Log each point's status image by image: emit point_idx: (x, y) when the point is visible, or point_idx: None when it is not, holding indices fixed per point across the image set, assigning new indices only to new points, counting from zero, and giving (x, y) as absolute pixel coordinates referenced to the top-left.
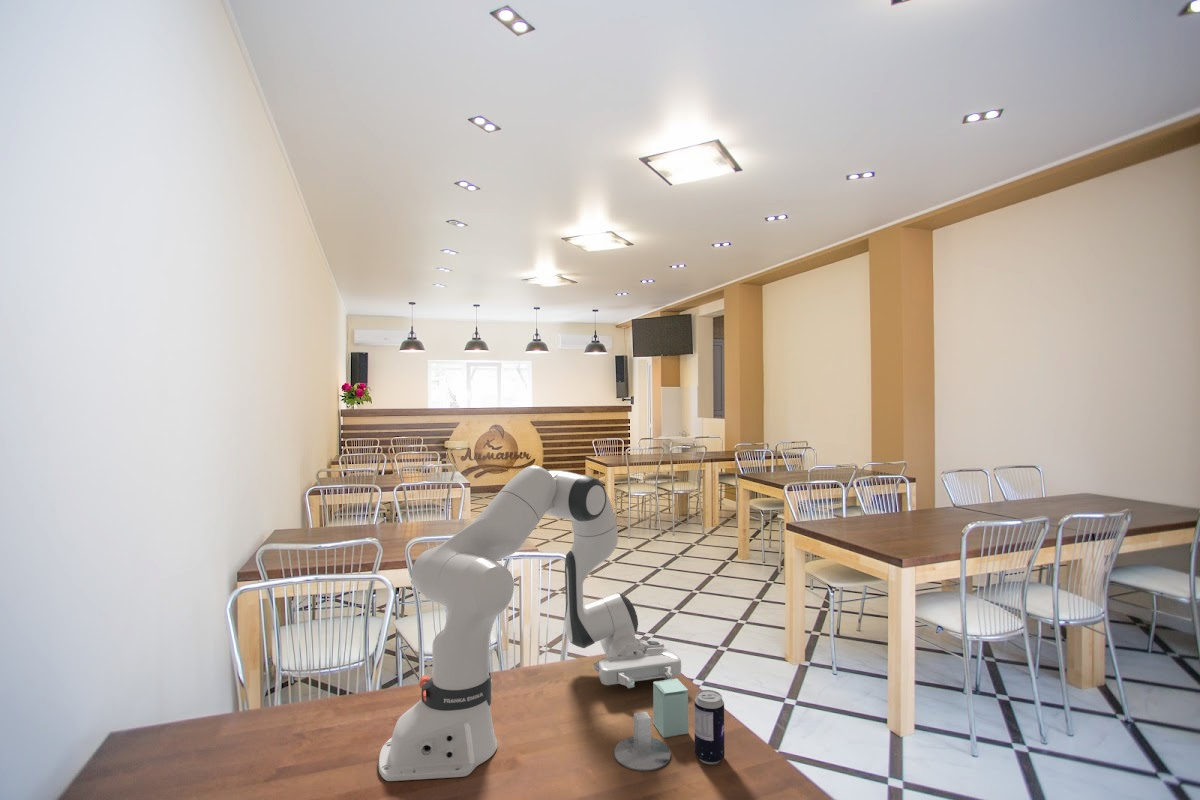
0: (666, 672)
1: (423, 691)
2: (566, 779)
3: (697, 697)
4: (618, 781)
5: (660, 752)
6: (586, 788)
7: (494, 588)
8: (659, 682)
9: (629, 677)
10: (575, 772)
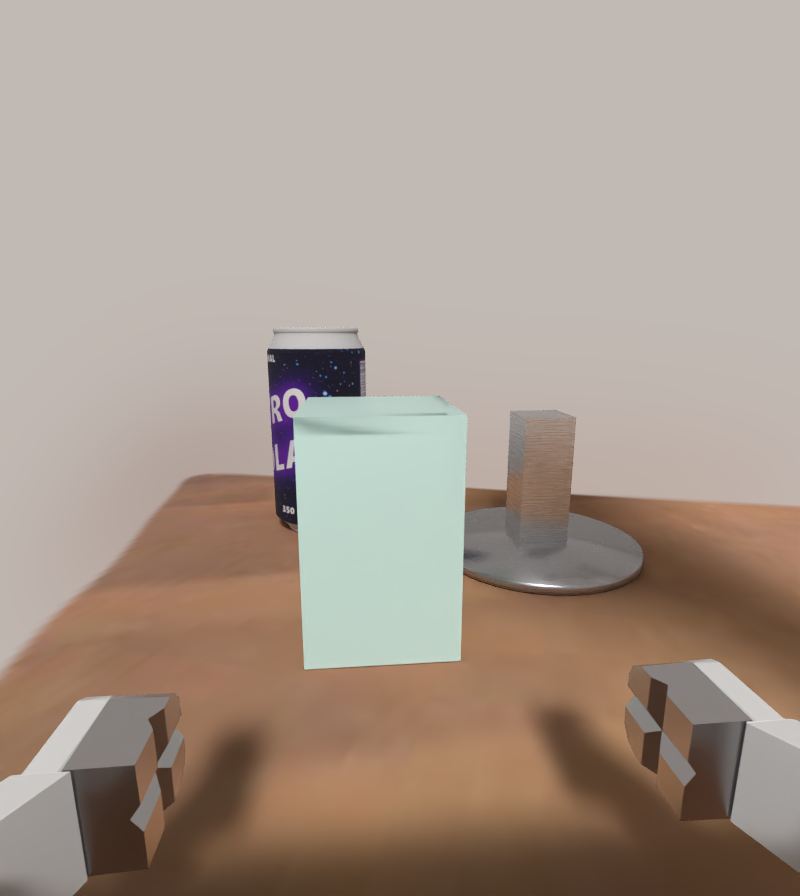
0: (94, 760)
1: None
2: (756, 518)
3: (357, 329)
4: (600, 505)
5: (471, 531)
6: (681, 502)
7: None
8: (428, 411)
9: (730, 722)
10: (743, 527)
